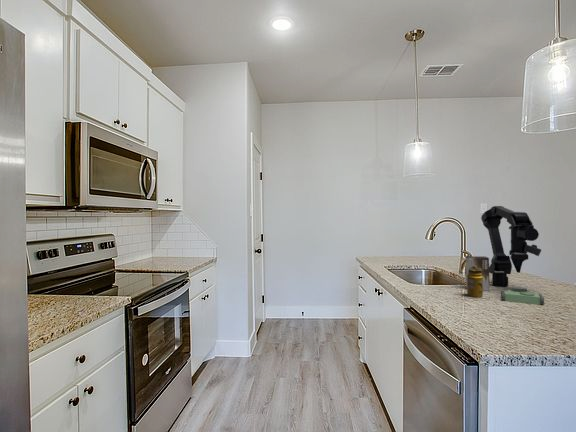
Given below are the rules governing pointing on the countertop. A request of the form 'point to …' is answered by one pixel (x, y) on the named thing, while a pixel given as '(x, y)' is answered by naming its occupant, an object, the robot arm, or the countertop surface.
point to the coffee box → (479, 268)
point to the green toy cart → (522, 297)
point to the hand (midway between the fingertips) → (518, 272)
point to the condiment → (474, 284)
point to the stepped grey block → (519, 289)
